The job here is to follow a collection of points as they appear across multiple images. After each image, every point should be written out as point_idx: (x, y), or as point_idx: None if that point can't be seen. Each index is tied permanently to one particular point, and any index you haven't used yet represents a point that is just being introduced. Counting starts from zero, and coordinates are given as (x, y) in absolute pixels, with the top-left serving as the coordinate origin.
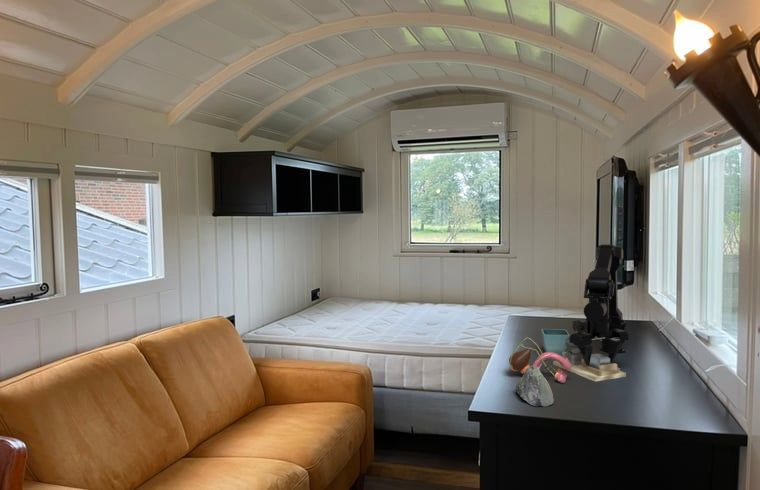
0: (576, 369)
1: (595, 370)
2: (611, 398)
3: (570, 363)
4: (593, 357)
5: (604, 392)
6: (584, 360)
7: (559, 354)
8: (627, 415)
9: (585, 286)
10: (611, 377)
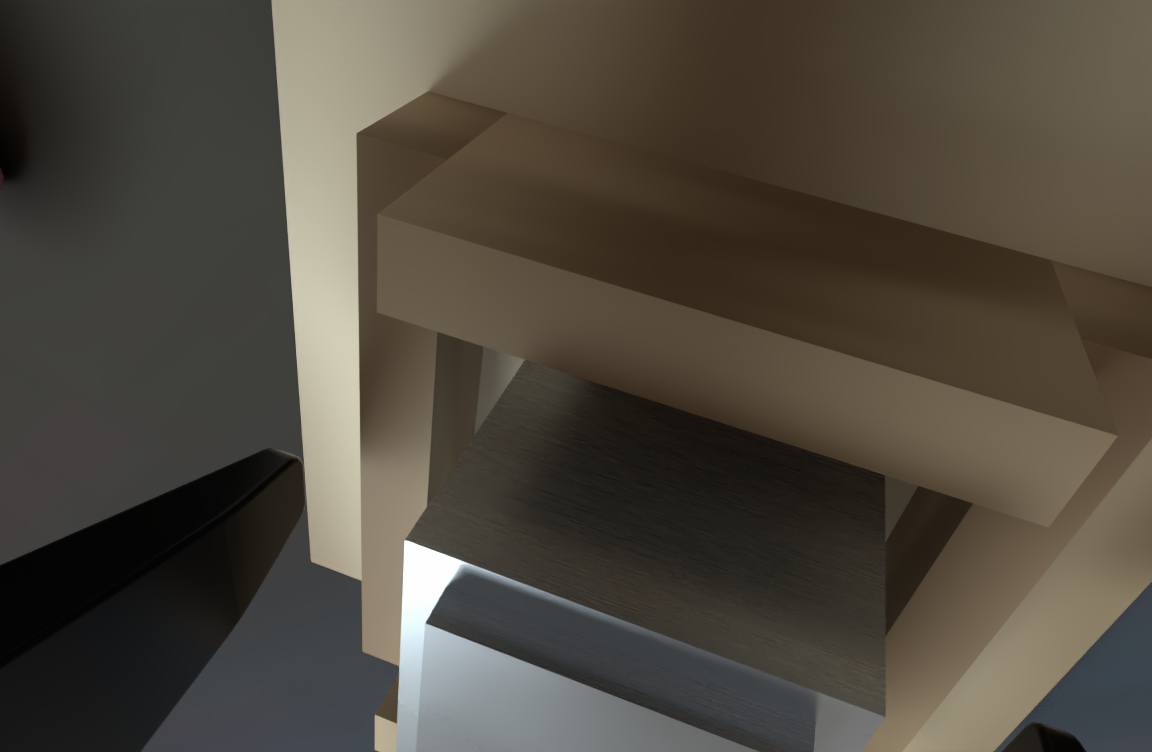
0: (324, 98)
1: (364, 588)
2: (183, 740)
3: None
4: (400, 681)
5: (214, 678)
6: (159, 512)
7: None
8: None
9: None
10: None
